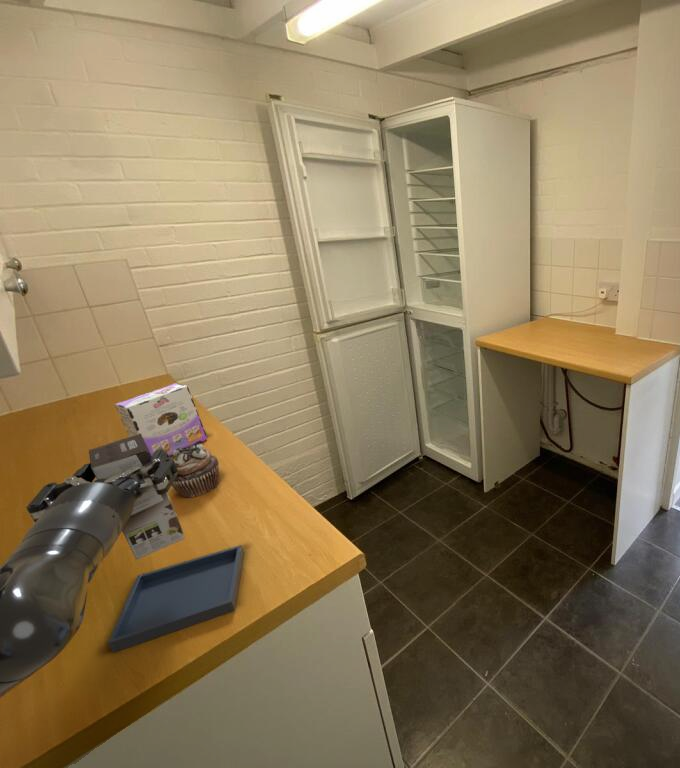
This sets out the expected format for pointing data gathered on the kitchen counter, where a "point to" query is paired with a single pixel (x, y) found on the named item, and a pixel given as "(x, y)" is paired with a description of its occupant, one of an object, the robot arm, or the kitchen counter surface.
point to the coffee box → (151, 511)
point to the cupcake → (195, 471)
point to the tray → (179, 597)
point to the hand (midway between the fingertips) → (127, 461)
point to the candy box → (163, 418)
